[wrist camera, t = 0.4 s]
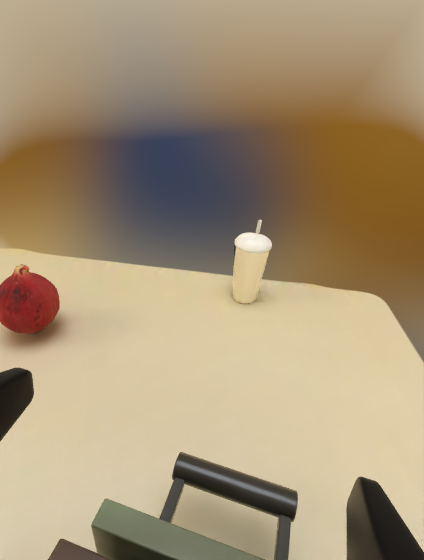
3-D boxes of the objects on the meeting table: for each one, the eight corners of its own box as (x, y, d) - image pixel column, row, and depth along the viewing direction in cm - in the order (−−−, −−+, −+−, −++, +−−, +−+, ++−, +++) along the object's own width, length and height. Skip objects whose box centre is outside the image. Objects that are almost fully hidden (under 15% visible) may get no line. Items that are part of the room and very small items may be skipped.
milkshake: (264, 289, 47) (278, 223, 41) (257, 310, 42) (271, 239, 37) (233, 282, 48) (243, 216, 42) (223, 301, 43) (232, 231, 38)
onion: (53, 351, 33) (38, 284, 29) (-7, 349, 33) (-31, 281, 29) (71, 315, 38) (60, 254, 34) (19, 313, 38) (1, 251, 34)
